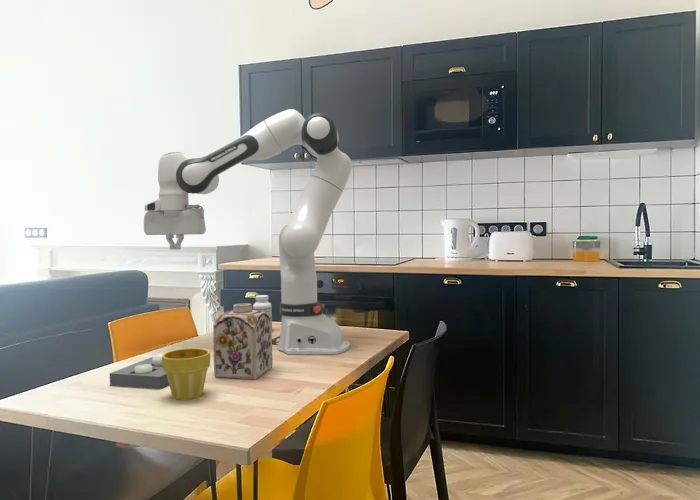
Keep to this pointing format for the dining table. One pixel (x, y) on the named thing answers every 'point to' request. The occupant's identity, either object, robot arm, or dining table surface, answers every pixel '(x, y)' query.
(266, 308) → the supplement bottle
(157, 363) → the ivory button
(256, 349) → the decorative jar
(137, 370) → the sage button
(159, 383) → the button console
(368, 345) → the dining table surface
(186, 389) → the plant pot
